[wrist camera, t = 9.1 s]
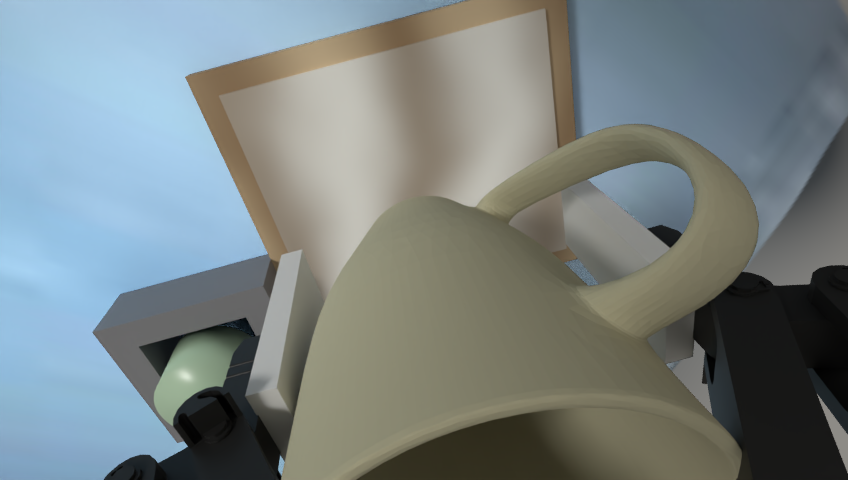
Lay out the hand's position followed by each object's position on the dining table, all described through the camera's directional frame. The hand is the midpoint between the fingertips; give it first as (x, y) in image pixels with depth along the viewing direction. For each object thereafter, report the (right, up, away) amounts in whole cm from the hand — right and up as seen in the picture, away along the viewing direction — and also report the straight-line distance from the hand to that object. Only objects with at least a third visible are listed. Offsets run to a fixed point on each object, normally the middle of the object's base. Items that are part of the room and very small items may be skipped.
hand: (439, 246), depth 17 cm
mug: (0, +1, +2) cm, 2 cm away
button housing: (-11, -5, +9) cm, 15 cm away
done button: (-11, -6, +7) cm, 14 cm away
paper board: (-1, +3, +6) cm, 7 cm away
